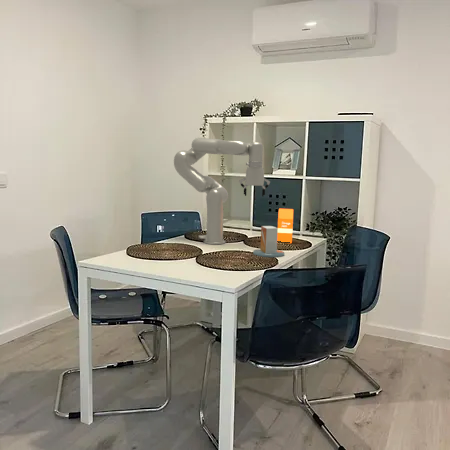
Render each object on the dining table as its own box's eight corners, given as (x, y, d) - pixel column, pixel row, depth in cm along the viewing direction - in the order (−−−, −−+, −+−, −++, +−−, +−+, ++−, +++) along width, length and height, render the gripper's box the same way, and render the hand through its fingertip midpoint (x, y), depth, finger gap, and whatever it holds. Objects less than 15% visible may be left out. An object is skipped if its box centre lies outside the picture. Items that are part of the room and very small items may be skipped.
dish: (252, 256, 238) (253, 254, 238) (253, 250, 254) (253, 248, 254) (284, 258, 237) (285, 255, 237) (283, 251, 253) (283, 249, 252)
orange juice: (291, 243, 281) (293, 209, 278) (276, 242, 282) (278, 209, 279) (292, 241, 288) (293, 208, 286) (277, 240, 290) (278, 207, 287)
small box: (260, 250, 248) (261, 225, 247) (271, 250, 250) (272, 225, 248) (265, 253, 241) (266, 228, 239) (277, 253, 242) (278, 228, 241)
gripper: (239, 164, 259) (238, 195, 261) (271, 165, 257) (269, 197, 260) (240, 164, 266) (239, 195, 268) (270, 165, 265) (269, 196, 267)
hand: (254, 196), depth 264 cm, fingers open, 9 cm apart
